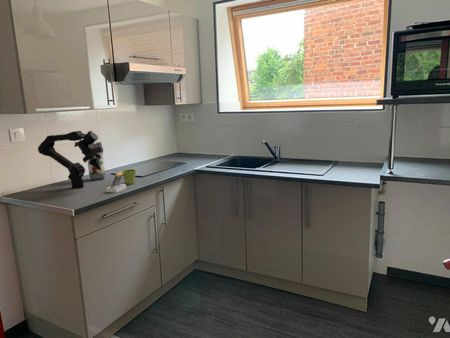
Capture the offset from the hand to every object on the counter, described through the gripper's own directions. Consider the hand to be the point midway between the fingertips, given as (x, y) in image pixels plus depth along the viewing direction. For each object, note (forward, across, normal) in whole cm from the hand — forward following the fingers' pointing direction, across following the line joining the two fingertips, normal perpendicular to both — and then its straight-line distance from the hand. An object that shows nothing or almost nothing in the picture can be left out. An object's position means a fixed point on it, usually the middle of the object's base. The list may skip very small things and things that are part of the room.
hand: (100, 169), depth 215 cm
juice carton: (0, +29, +13) cm, 32 cm away
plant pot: (+17, +12, -8) cm, 22 cm away
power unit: (+16, -4, -2) cm, 17 cm away
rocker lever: (+13, -4, -4) cm, 14 cm away
